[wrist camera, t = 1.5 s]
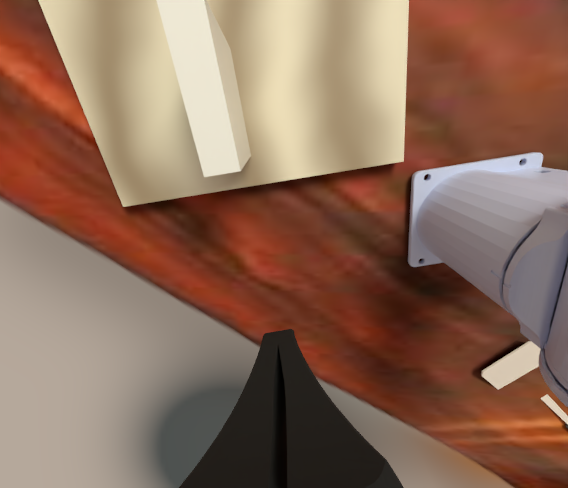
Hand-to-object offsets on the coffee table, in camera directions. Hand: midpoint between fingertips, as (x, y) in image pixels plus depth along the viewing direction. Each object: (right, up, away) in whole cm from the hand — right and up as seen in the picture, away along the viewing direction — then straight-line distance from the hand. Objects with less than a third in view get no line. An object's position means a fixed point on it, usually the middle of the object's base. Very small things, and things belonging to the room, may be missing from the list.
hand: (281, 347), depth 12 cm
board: (-2, +16, +4) cm, 17 cm away
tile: (-4, +13, +4) cm, 15 cm away
